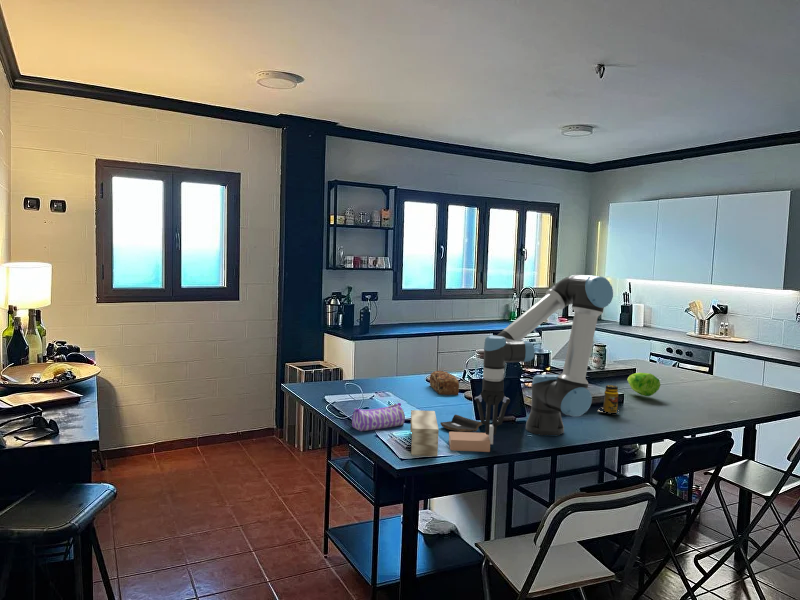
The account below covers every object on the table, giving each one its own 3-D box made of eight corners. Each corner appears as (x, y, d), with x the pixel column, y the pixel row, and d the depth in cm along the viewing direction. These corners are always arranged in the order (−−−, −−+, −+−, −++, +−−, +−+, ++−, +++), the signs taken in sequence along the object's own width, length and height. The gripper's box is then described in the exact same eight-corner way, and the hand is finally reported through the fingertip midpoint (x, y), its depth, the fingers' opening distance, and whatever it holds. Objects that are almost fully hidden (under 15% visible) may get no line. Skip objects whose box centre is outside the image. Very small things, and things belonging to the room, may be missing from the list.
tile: (486, 443, 222) (486, 432, 222) (489, 452, 212) (490, 441, 212) (448, 442, 222) (449, 431, 222) (450, 450, 212) (450, 439, 212)
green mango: (640, 389, 324) (641, 367, 323) (664, 398, 305) (666, 375, 304) (617, 389, 321) (619, 367, 320) (640, 398, 302) (642, 375, 301)
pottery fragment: (437, 426, 238) (438, 415, 238) (457, 424, 246) (458, 414, 246) (464, 434, 227) (465, 423, 227) (484, 432, 234) (486, 421, 234)
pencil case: (393, 422, 246) (394, 399, 245) (407, 427, 238) (408, 404, 238) (348, 430, 232) (349, 406, 231) (362, 436, 225) (362, 412, 224)
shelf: (433, 435, 229) (434, 411, 228) (437, 456, 205) (438, 429, 204) (410, 434, 229) (411, 410, 228) (411, 455, 205) (412, 428, 204)
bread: (429, 388, 310) (429, 369, 309) (448, 388, 312) (449, 369, 311) (438, 397, 291) (439, 377, 291) (459, 397, 294) (460, 376, 293)
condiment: (615, 414, 270) (617, 388, 269) (596, 411, 274) (598, 385, 273) (619, 411, 276) (621, 385, 275) (601, 408, 280) (602, 383, 279)
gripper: (509, 377, 219) (506, 440, 221) (473, 376, 219) (471, 439, 221) (513, 381, 211) (510, 447, 213) (476, 380, 211) (473, 445, 213)
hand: (490, 443), depth 217 cm, fingers closed
